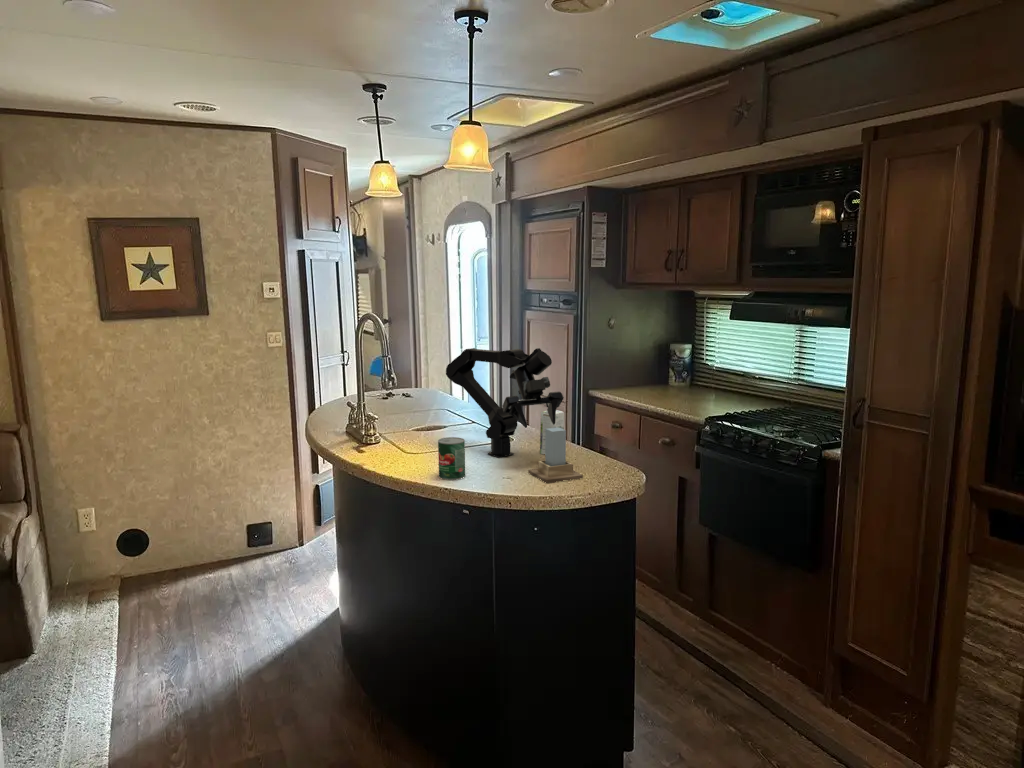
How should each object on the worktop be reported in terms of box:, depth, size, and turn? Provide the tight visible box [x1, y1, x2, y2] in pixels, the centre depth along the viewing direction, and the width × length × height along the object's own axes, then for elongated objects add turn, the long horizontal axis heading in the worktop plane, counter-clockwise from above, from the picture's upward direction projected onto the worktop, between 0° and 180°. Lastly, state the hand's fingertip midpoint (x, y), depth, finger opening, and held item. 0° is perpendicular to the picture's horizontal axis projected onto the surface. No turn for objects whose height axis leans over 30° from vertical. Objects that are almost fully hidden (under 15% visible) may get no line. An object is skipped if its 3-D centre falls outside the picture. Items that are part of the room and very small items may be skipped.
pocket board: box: [527, 459, 584, 484], centre depth 203 cm, size 12×12×4 cm
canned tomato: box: [437, 436, 466, 481], centre depth 202 cm, size 8×8×11 cm
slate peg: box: [544, 427, 567, 466], centre depth 202 cm, size 4×4×13 cm
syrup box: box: [539, 409, 565, 455], centre depth 228 cm, size 6×6×14 cm
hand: (540, 425), depth 209 cm, fingers open, 9 cm apart
